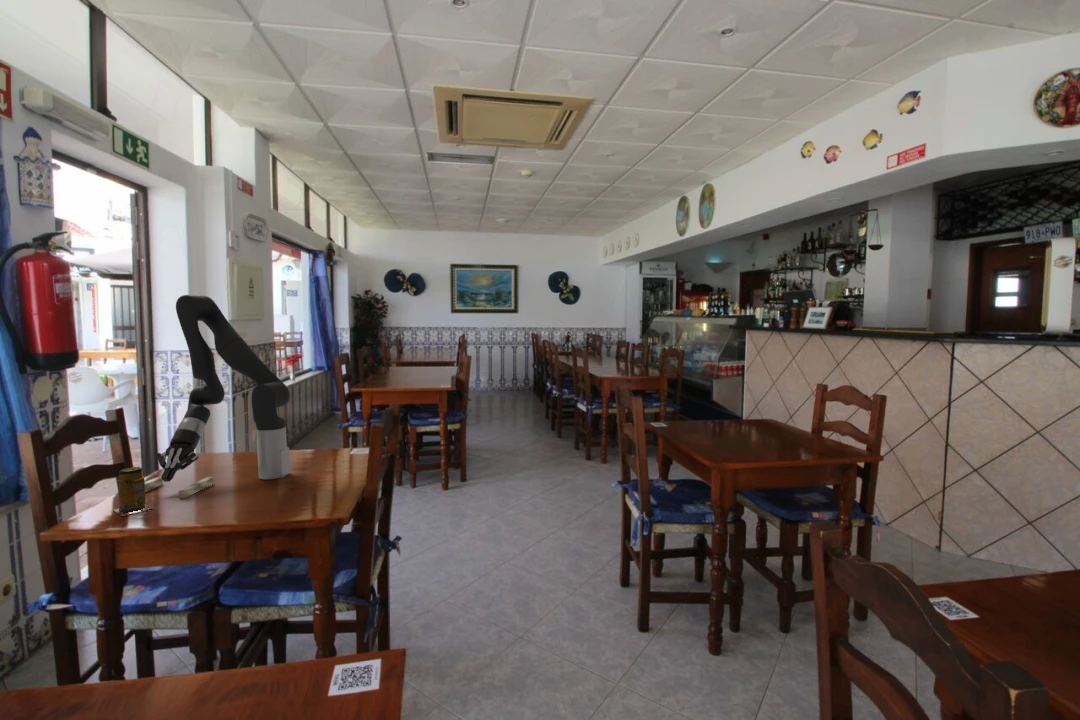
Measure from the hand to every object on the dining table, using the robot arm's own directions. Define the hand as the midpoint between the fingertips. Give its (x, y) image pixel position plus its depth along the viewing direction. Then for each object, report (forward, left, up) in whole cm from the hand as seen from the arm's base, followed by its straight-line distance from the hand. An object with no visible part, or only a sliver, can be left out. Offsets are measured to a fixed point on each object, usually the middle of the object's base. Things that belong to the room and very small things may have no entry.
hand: (165, 480), depth 163 cm
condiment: (0, +14, -5) cm, 15 cm away
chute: (0, -2, -4) cm, 5 cm away
